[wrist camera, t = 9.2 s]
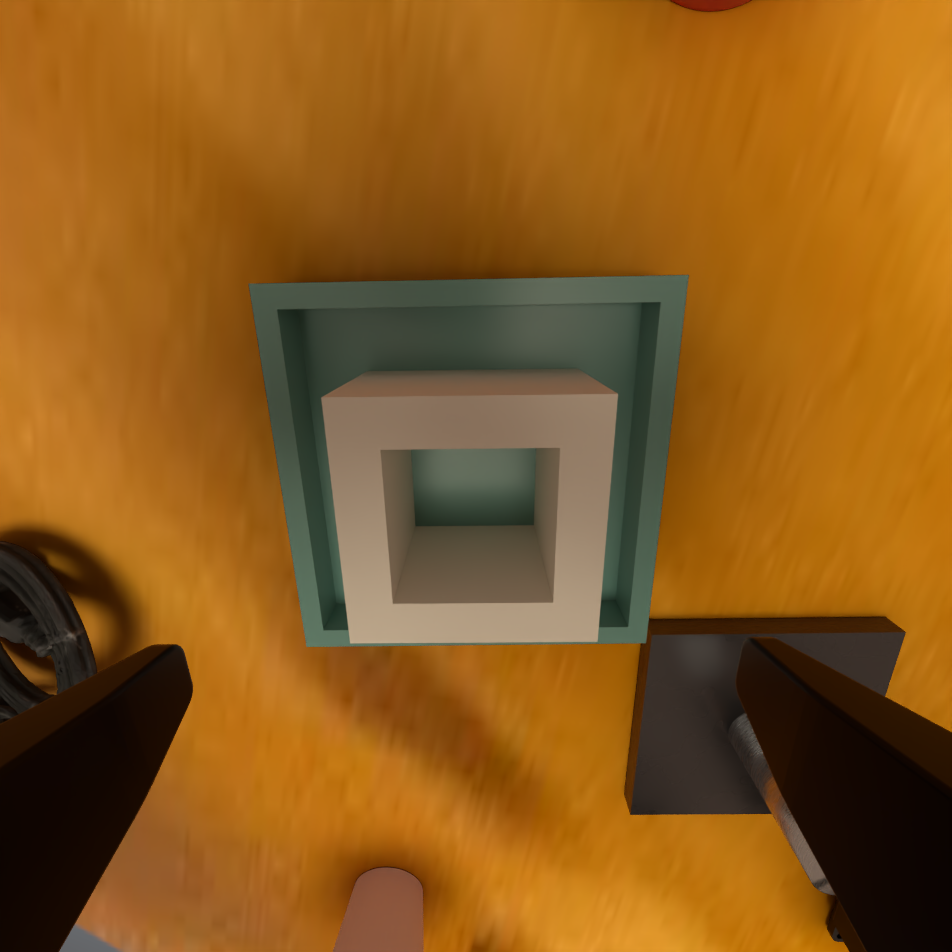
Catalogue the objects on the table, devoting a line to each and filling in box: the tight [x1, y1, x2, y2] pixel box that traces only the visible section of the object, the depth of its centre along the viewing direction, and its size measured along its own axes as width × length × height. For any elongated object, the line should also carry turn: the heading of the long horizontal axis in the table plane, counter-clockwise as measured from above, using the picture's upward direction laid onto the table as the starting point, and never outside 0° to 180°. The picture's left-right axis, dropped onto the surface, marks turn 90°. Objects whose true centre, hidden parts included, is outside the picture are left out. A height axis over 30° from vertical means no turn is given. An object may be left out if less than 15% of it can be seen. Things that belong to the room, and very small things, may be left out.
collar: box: [321, 369, 618, 644], centre depth 15 cm, size 7×7×5 cm
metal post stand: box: [624, 617, 906, 895], centre depth 19 cm, size 10×10×6 cm
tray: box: [249, 275, 689, 647], centre depth 17 cm, size 12×12×2 cm
